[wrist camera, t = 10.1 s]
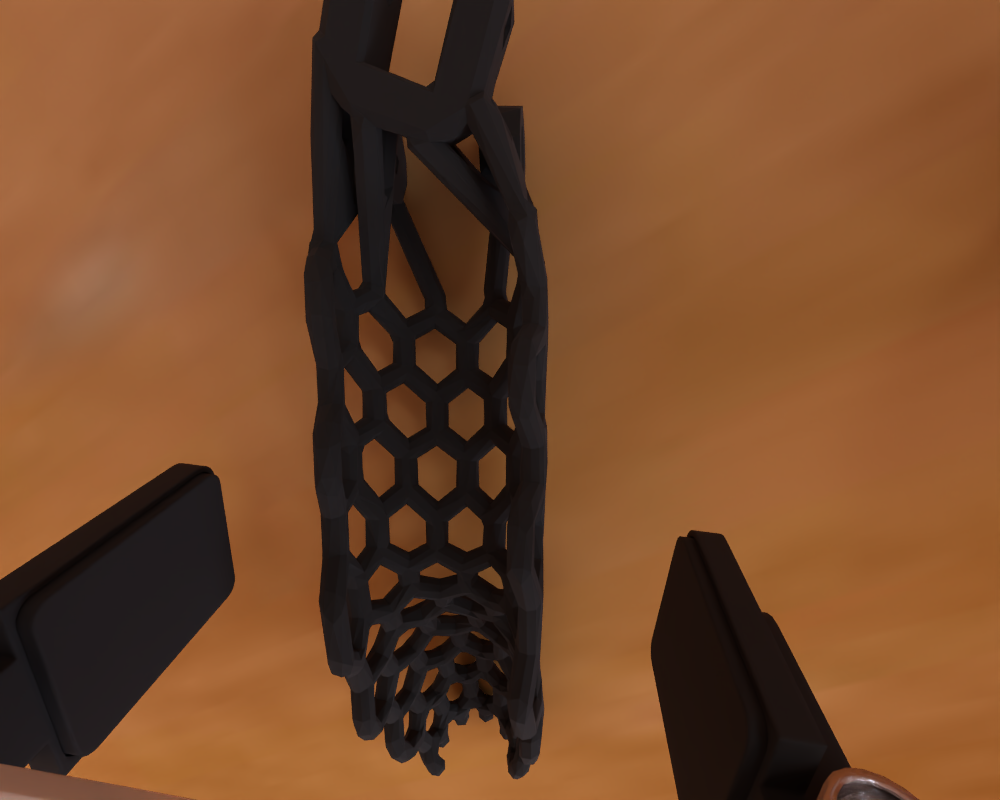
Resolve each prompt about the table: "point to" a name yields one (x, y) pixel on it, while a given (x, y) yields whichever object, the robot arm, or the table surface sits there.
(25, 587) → the robot arm
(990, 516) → the table surface
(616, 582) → the table surface
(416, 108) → the decorative element
